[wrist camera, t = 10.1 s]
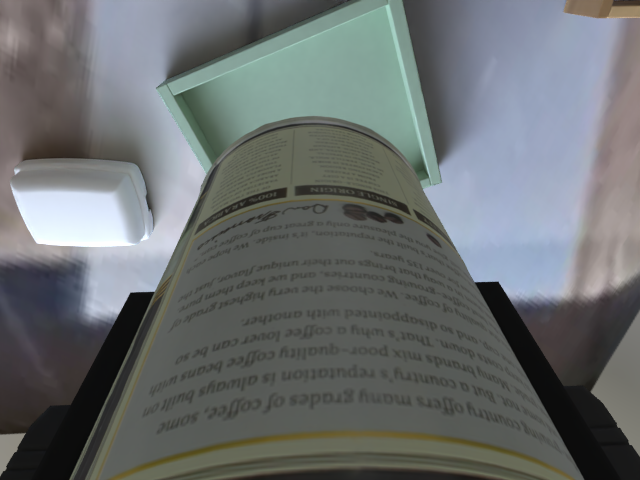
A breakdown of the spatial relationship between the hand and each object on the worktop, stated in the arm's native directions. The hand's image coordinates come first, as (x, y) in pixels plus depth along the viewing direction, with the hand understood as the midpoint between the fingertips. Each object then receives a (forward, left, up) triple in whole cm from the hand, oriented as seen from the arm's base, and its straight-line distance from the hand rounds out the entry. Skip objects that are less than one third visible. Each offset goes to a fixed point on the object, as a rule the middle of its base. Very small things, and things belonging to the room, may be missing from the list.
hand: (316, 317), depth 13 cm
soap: (+18, -1, -19) cm, 26 cm away
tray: (0, 0, -19) cm, 19 cm away
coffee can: (0, 0, -6) cm, 6 cm away
